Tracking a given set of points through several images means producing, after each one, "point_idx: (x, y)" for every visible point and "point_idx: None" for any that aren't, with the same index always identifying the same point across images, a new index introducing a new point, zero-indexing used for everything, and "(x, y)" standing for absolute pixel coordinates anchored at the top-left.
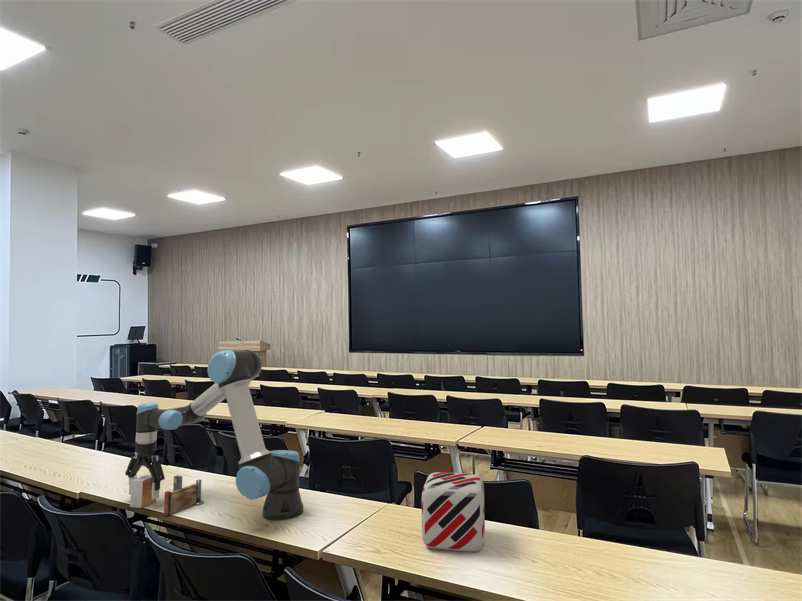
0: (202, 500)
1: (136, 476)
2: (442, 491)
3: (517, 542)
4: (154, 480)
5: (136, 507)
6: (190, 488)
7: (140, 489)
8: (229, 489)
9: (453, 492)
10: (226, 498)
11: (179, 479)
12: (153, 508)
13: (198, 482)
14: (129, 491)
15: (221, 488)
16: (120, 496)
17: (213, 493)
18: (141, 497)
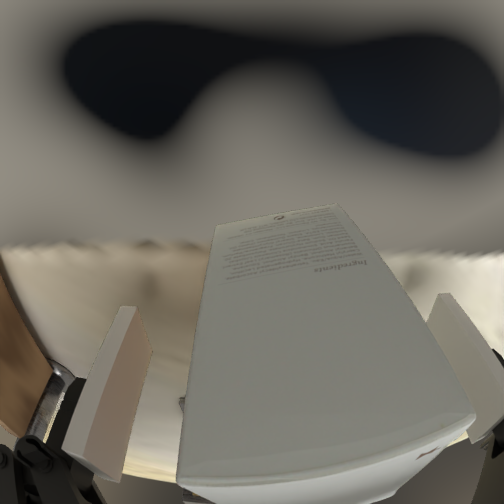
0: (64, 391)
1: (475, 441)
2: None
3: None
4: (18, 459)
5: (269, 215)
6: None
7: (224, 344)
8: (135, 455)
9: None
10: (56, 412)
11: (185, 489)
12: (134, 263)
13: (15, 444)
14: (457, 310)
15: (165, 459)
16: (500, 294)
17: (133, 438)
18: (210, 276)
